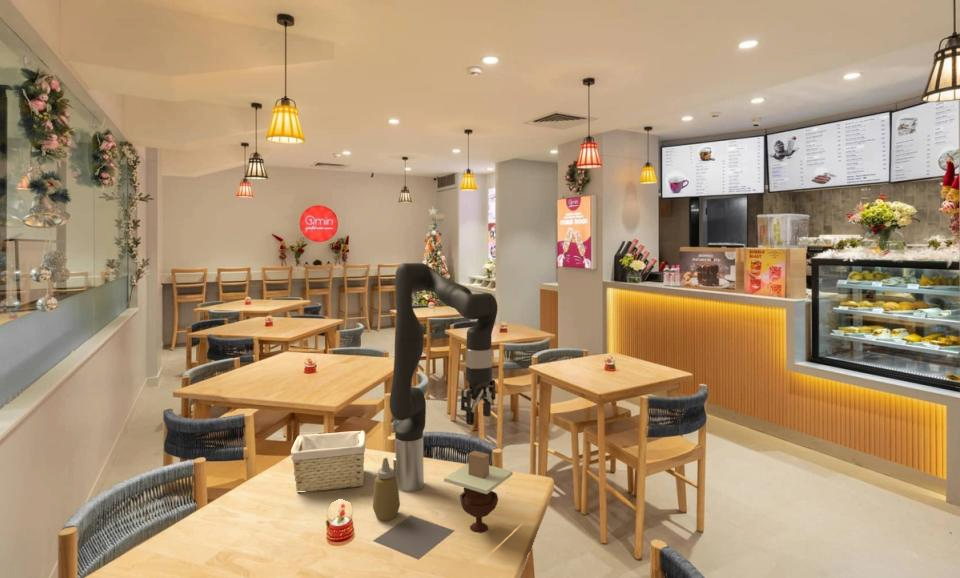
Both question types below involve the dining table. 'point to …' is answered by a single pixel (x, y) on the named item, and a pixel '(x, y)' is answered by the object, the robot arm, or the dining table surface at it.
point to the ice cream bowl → (478, 506)
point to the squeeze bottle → (386, 493)
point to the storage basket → (329, 460)
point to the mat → (414, 536)
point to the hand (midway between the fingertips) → (478, 420)
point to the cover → (478, 474)
